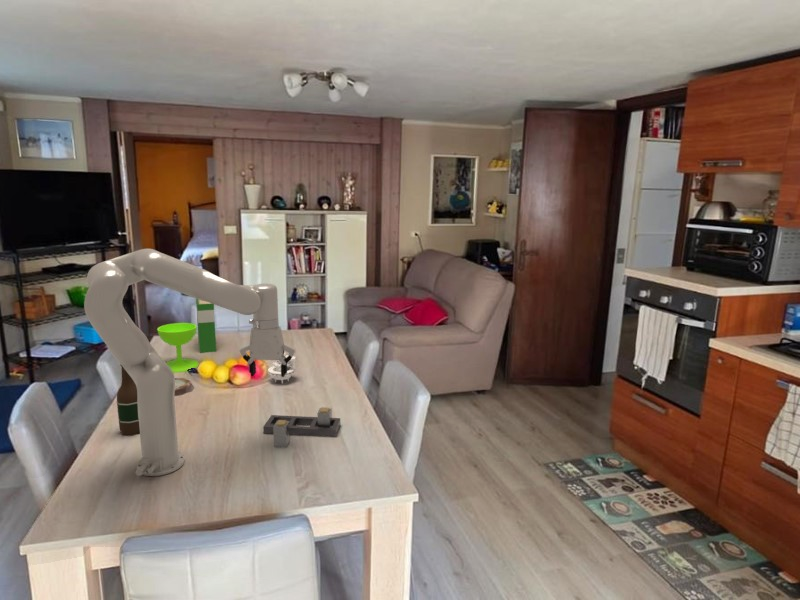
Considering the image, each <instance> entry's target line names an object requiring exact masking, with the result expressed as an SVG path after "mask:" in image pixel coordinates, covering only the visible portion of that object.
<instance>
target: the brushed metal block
mask: <svg viewBox="0 0 800 600" xmlns="http://www.w3.org/2000/svg"><path fill="white" fill-rule="evenodd" d="M273 431H274V434H273V447H274V448H287V447H288V445H289V444H290V442H291V435H290V422H289V421H287V420H278V421H276V423H275V424H274V426H273Z"/></svg>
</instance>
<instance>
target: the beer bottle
mask: <svg viewBox="0 0 800 600" xmlns="http://www.w3.org/2000/svg"><path fill="white" fill-rule="evenodd" d="M119 364H120V363H119ZM120 367H121V383H120V384H121V385H120V387H119V388H118V390H117V392H116V393H117V394H116V406H117V416H118V417H117V418H118V426H119V432H120V433H121V435H122V436H135V435H138V434H139V435H140V428H139V418H138V405H137V387H136V384H135V383H134V381H133V379H132V378H131V377H130V375H129V374H128V373H127V371H126V370H125V369H124V368H123V367H122V365H121V364H120Z"/></svg>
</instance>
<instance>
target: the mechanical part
mask: <svg viewBox="0 0 800 600" xmlns="http://www.w3.org/2000/svg"><path fill="white" fill-rule="evenodd" d="M284 356H285V357H286V358H287V357H288V356H289V354H287V352H284ZM296 357H297V356H294V355H293V357H292V358H291V360H290V361H289V362H288V363H287V373H286V374H285V376H284V377H282V376H281V365H282V363H281V362H280V361H279V360H274V361H275V362H274V361H273V362H272V366H270V367H269V368H268V369H267V374H268V375H270V376H271V377H272V379H273V380H274V383H277V381H281V384H284V380H287V382H290V378H291V376H292V375H294V374H295V373H296V372H297V358H296Z"/></svg>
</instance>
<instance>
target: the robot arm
mask: <svg viewBox="0 0 800 600" xmlns="http://www.w3.org/2000/svg"><path fill="white" fill-rule="evenodd" d="M86 279H87V280H86V281H87V284H88V289H87V291H86V293H85V297H84V302H83V304H84V305H83V306H84V307H83V308H84V309H83V310H84V313H85V316H86V318H87V320H88V321H89V323H90V324H91V326H92V328H93V329H94V330H95V332H96V333H97V335H98V336H99V337H100V339H101V340H102V341H103V342H104V344H105V345H106V347H107V349H108V351H109V353H111V355H112V356H113V358H114V359H115V360H117V362H118V363H119V364H121V365H122V367H123V368H124V369H125V370H126V371H127V373H128V374H129V375H130V377H131V378H132V379H133V381H134V383H135V384H136V387H137V405H138V418H139V428H140V433H139V437H140V447H141V459H140V460H139V461H138V463H137V464H136V470H135V475H136V476H138V477H141V476H144V477H145V476H146V477H159V476H164V475H167V474H168V475H169V474H171V473H174V472H176V471H177V470H179V469H180V468H182V466H183V465H184V464H185V456H184V454H183V453H182V452H179V444H178V443H179V442H178V432H177V431H178V430H177V417H176V405H175V401H176V400H175V396H174V395H175V375H174V374H175V373H173V371H172V370H171V368H170V367H169V366H168V364H167V363H166V361H165V360H164V359H163V358H162V357H161V356H160V354H159V353H158V352H157V351H156V349H155V347H154V346H153V345H152V344H151V342H150V341H149V339H148V337H147V335H146V334H145V333H144V332H143V331H142V330H141V329H140V328H139V327H138V326H137V325H136V324H135V322H134V321H133V320H132V318H131V317H130V315H129V314H128V312H127V311H126V309H125V308H124V305H123V299H124V296H125V295H126V293H127V291H128V289H129V286H131V285H134V284H137V283H140V282H142V281H147V282H148V283H152V284H154V285H157V286H159V287H163V288H166V289H169V290H171V291H175V292H177V293H180V294H183V295H186V296H189V297H191V298H194V299H195V300H196V299H199V300H202V301H206V302H209V303H212V304H214V306H219V307H220V308H223V309H226V310H229V311H232V312H235V313H237V314H240V315H243V316H250V315H253V318H252V319H249V320H248V324H251V325H252V327H251V329H250V333H249V334H250V335H249V344H248V345H247V346H245V347H243V348H241V349H240V350H239V354H240V355H241V356H242V359H243V360H244V361H245V362H246V363H247V365H248V369H249V370H248V372H249V373H250V377H254V376H255V375H256V373H257V364H256V361H275V360H279V361H280V362H281V363H282V365H281V376H282V377H284V376H285V374H286V373H287V363H288V362H289V361H290V360H291V358H292V357H293V356H294V355H295V352H296V350H295V349H293V348H292V347H289V346H287V345H285V344H284V343H285V342H284V335H283V331H282V327H281V326H280V325H279V324H280V323H279V307H278V306H279V302H278V297H279V296H278V287H277V286H276V285H275V284H273V283H259V284H258V283H257V284H254V285H245V284H237V283H234V282H231V281H229V280H226V279H224V278H222V277H221V276H218V275H215V274H214V273H212V272H210V271H208V270H206V269H204V268H202V267H199V266H197V265H194V264H191V263H189V262H186V261H183V260H181V259H178V258H175V257H173V256H171V255H168V254H165V253H162V252H160V251H158V250H156V249H153V248H141V249H137V250H135V251H133V252H128V253H126V254H123V255H120V256H116V257H114V258H110V259H107V260H105V261H102V262H98V263H96V264H95V265H93V266H92V267H91V268H90V269H89V270H88V273H87V276H86ZM247 351H249V354H247ZM284 353H288V355H289V356H288V357H287V358H286V357H285V356H284ZM121 365H120V366H121ZM122 367H121V368H122Z"/></svg>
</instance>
